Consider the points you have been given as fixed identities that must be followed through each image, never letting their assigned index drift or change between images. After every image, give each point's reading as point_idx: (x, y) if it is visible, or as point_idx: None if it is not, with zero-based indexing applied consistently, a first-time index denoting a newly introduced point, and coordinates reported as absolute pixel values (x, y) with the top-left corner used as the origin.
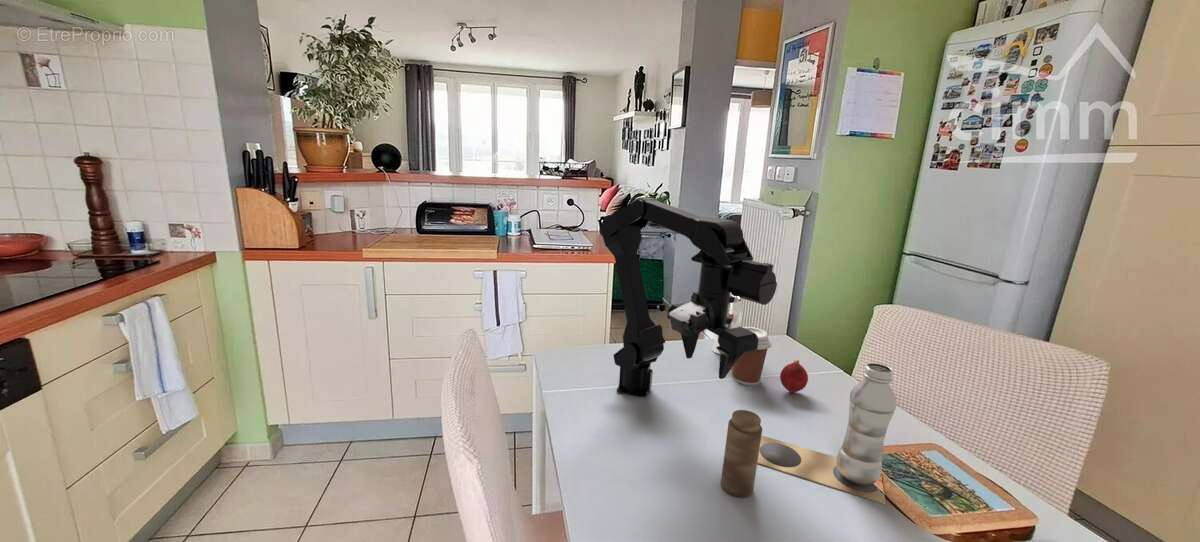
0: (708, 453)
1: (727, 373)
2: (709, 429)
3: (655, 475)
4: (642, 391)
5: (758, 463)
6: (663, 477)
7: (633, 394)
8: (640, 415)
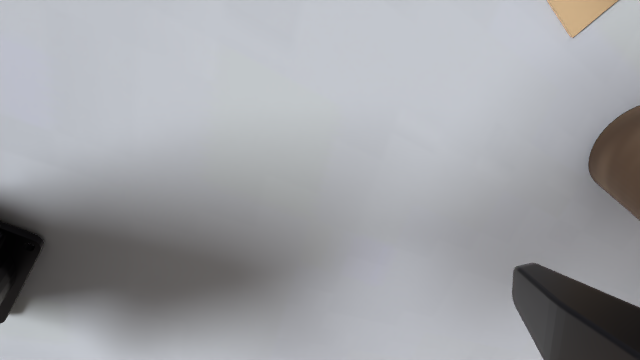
0: (468, 154)
1: (579, 286)
2: (335, 75)
3: (481, 313)
4: (2, 245)
5: (614, 1)
6: (496, 301)
7: (28, 275)
8: (188, 280)
